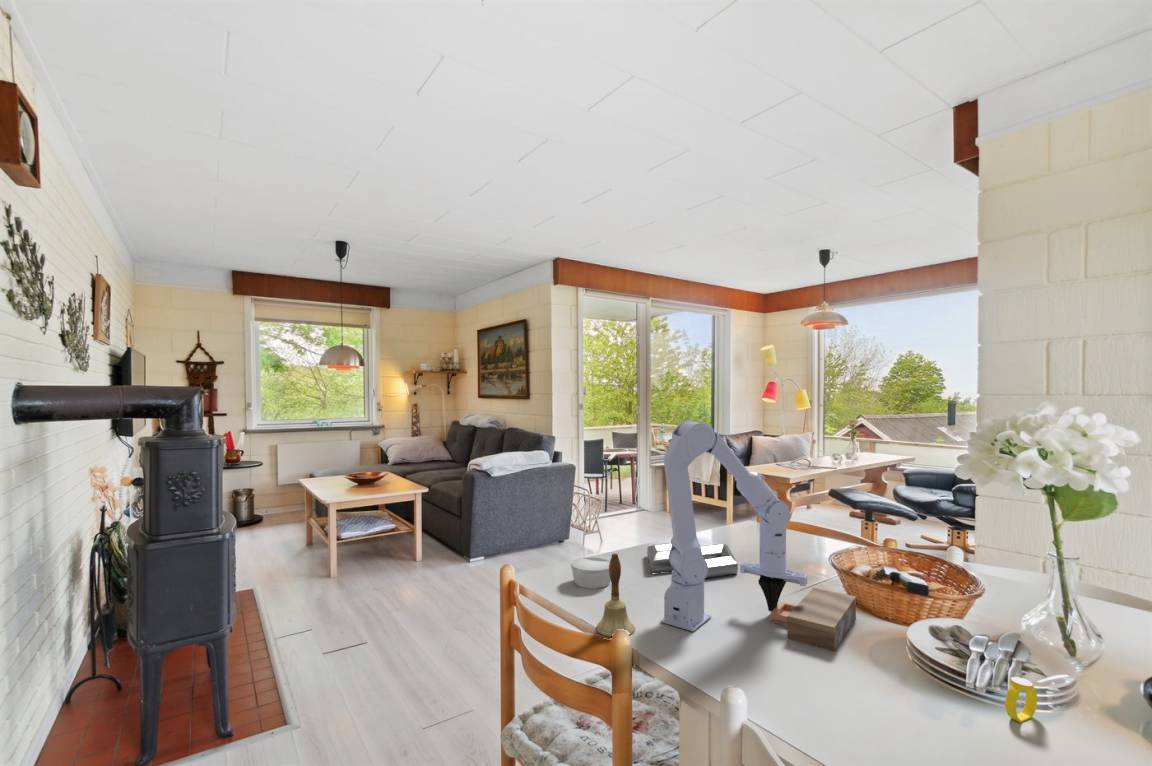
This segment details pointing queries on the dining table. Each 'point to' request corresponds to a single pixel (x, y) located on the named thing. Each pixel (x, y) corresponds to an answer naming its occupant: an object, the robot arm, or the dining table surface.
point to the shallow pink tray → (782, 613)
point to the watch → (1013, 696)
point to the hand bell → (614, 605)
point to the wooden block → (821, 618)
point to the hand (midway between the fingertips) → (772, 610)
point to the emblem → (714, 555)
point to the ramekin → (591, 572)
